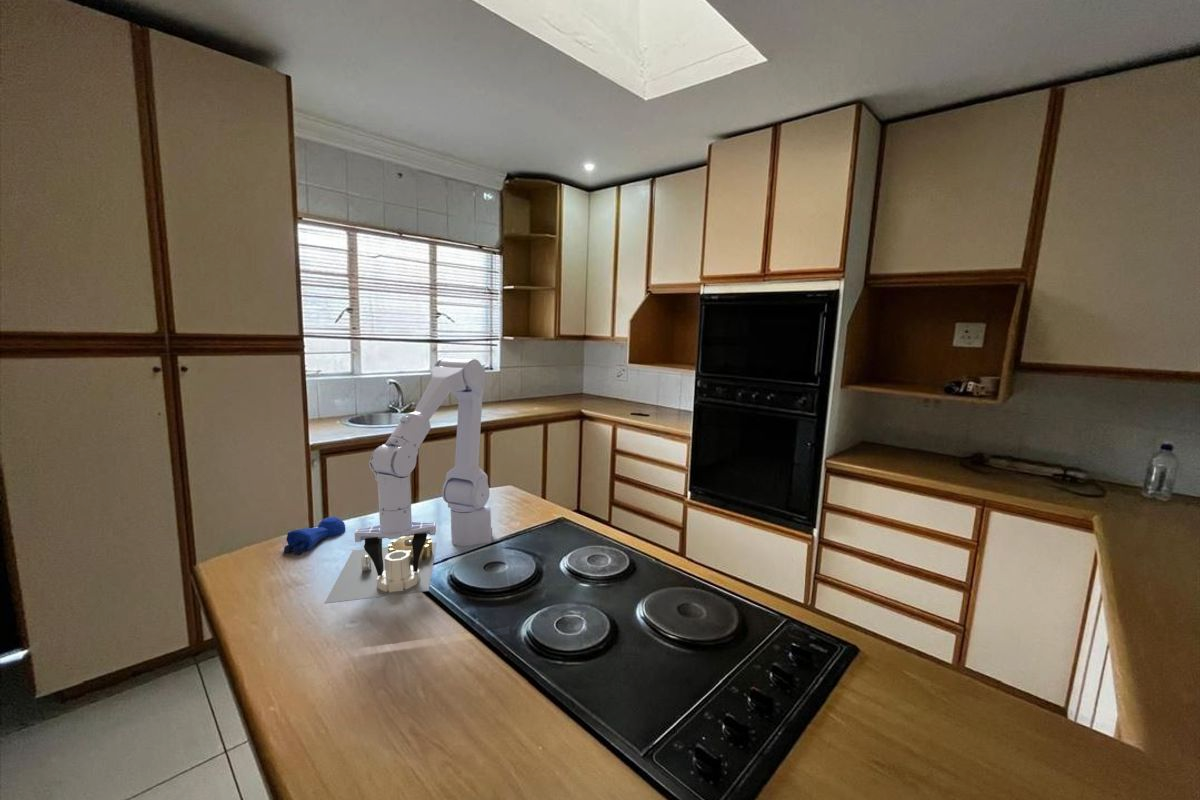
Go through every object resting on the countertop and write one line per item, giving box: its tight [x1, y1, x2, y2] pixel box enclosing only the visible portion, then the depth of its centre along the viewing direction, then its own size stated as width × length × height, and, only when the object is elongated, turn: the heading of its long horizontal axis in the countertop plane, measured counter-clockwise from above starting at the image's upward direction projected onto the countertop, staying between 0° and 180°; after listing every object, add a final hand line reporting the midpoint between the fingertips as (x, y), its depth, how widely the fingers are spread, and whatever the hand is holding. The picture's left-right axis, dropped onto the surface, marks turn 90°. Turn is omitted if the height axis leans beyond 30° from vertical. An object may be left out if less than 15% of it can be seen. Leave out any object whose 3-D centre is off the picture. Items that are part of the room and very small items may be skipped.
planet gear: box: [377, 550, 420, 592], centre depth 95 cm, size 8×8×6 cm
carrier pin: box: [361, 555, 372, 573], centre depth 100 cm, size 2×2×3 cm
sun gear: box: [387, 536, 433, 564], centre depth 106 cm, size 9×9×4 cm
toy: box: [283, 516, 346, 556], centre depth 114 cm, size 7×6×15 cm
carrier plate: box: [324, 542, 437, 604], centre depth 101 cm, size 18×22×1 cm
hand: (398, 571), depth 96 cm, fingers open, 6 cm apart
